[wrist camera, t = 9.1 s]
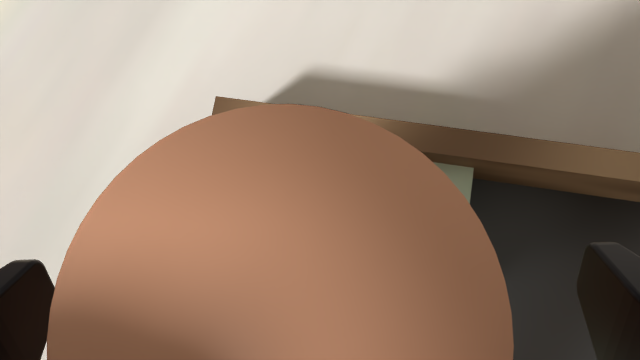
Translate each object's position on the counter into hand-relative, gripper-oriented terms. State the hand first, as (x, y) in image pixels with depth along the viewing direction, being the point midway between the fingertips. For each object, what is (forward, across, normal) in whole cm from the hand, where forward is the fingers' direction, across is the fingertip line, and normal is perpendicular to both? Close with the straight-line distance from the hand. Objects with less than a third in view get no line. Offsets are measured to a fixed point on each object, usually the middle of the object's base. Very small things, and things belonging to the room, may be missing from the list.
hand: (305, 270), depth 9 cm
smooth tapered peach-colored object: (+4, 0, +5) cm, 7 cm away
